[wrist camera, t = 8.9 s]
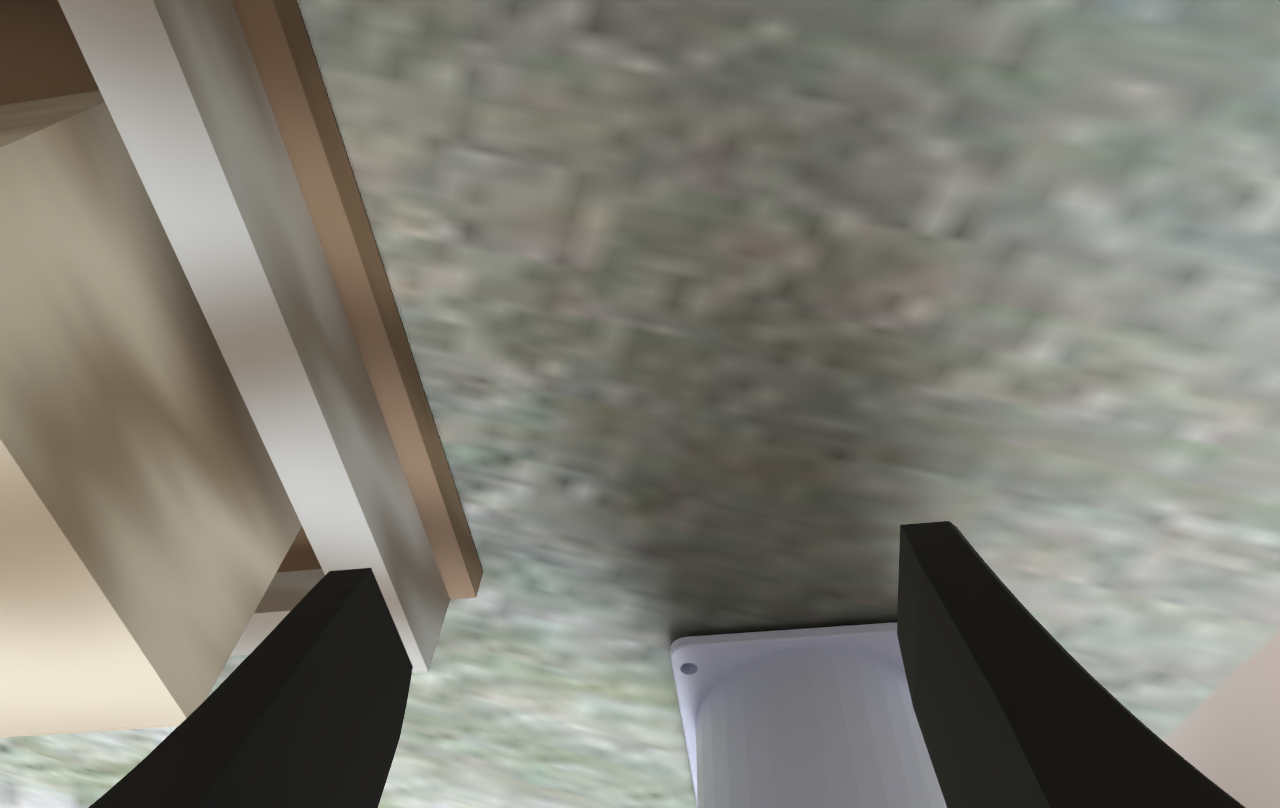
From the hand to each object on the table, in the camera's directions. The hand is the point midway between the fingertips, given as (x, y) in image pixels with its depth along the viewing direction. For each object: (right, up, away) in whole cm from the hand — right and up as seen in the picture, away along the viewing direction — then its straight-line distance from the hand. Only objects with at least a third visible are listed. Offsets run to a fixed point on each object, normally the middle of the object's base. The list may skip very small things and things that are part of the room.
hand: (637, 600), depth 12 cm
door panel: (-11, +5, +8) cm, 14 cm away
